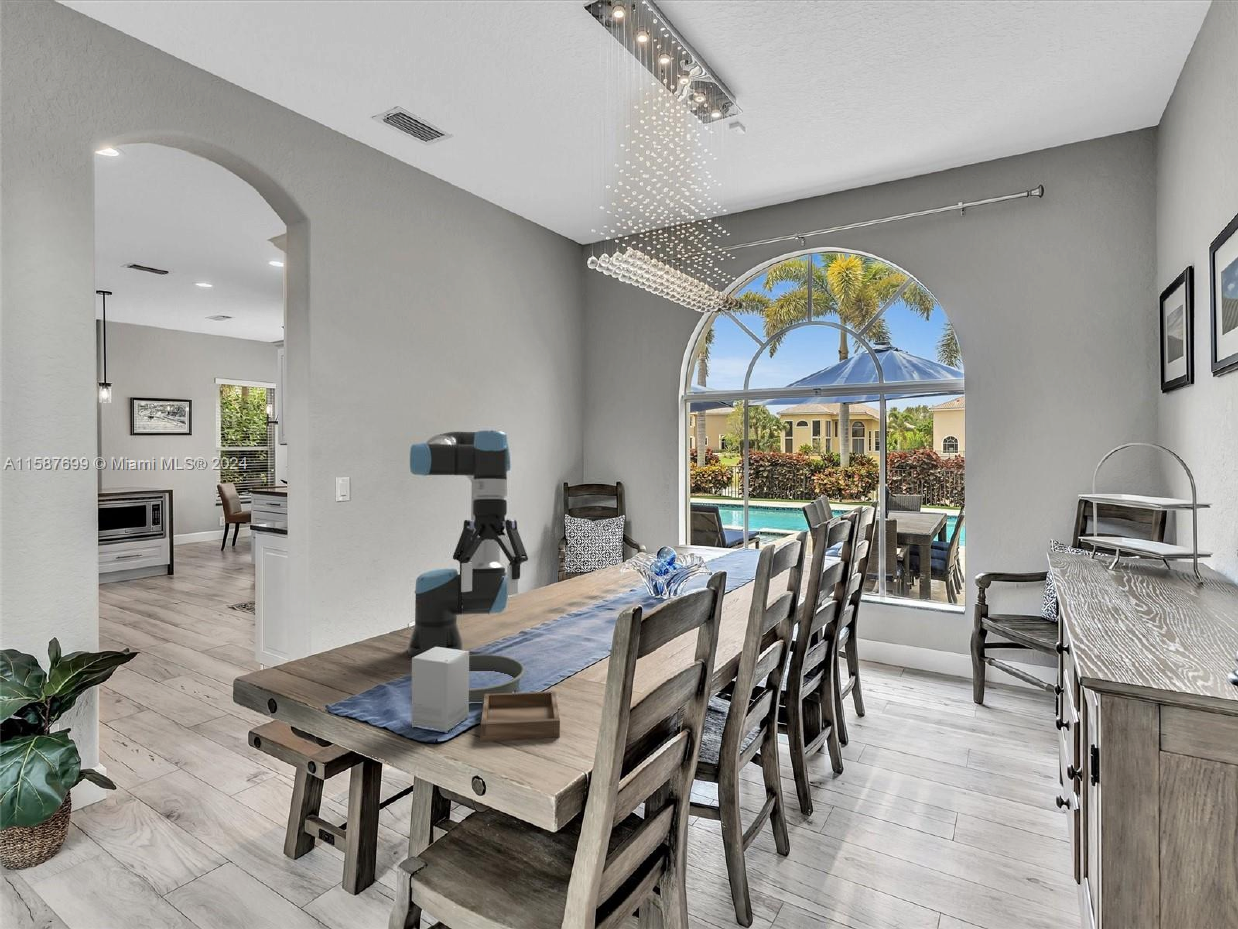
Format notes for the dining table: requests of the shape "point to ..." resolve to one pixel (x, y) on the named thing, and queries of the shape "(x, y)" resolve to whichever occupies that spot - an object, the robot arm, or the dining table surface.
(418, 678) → the supplement box
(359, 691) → the dining table surface
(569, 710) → the dining table surface
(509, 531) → the robot arm
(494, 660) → the cake pan
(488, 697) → the walnut tray
